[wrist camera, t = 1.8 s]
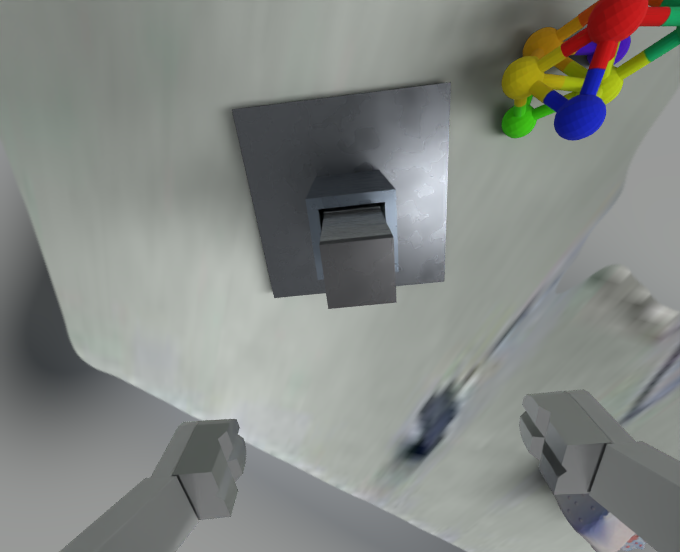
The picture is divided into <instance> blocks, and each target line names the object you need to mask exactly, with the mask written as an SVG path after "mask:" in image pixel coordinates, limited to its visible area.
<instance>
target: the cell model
mask: <svg viewBox="0 0 680 552" xmlns="http://www.w3.org/2000/svg"><path fill="white" fill-rule="evenodd" d="M589 494H590V493H585V494H559V495H555V498H556V500H557V502H558V505H559V507H560V509H561V511H562V512H563V514H564V516H565V517H566V519H567V520H568V522H569V523H570V525H571V526H572V527H573V528H574V529H575V531H576V532H577V533H579V534H580V535H581V536H582V537H583V538H584V539H585V540H586V541H587V542H589V543H590V545H591V546H592V548H593V549H594V550H595V551H596V552H617V551H618V550H619V549H621V550H624V551H630V550H633V549H635V548H639V549H644V548H645V547H644V545H645V544H646V543H647V542H645V541H644V540H643V539H642V538H640V537H639V536H638V535H637V534H636V533H634V532H633V531H632V530H631V529H630V528H628V527H627V526H626V525H625V524H623V523H622V522H621V521H620V520H619V519H617V518H616V517H615V516H614V515H612V514H611V513H610V512H609V511H608V510H606V509H605V508H604V507H603V506H601V505H600V504H599V503H598V502H597V501H595V500H594V499H593V498H592V497H591V496H589Z"/></svg>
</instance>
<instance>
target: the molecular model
mask: <svg viewBox="0 0 680 552" xmlns="http://www.w3.org/2000/svg"><path fill="white" fill-rule="evenodd" d="M648 5H649V6H651V7H648ZM586 24H587V27H586V28H585V29H583V30H582V31H580V32H579V33H577V34H576V35H574V36H573V37H571V38H570V39H568V40H567V41H566V42H562V41H563V40H565V39H566V38H568V37H569V36H571V35H572V34H574V33H575V32H577V31H578V30H580V29H581V28H583V27H584V26H585V25H586ZM639 26H677V28H676V30H674V31H673V32H671V33H670V34H668V35H667V36H665V37H664V38H662V39H661V40H659V41H658V42H656V43H654V44H653V45H651V46H650V47H648V48H647V49H645V50H644V51H642V52H641V53H639V54H638V55H636V56H635V57H633V58H632V59H630V60H629V61H627V62H625V63H624V64H622V65H621V66H619V67H618V68H617V67H614V66H613V65H614V64H616V63H617V62H619V61H620V60H621V59H622V58H623V57H624V56H625V54H626V53H627V51H628V49H629V46H630V42H631V38H630V35H631V34H632V33H633V32H634V31H636V30H637V28H638V27H639ZM679 44H680V0H599V1H597V2H596V3H595V4H593V5H592V6H590V7H589V8H587V9H586V10H585V11H583V12H582V13H580V14H579V15H578V16H577V17H575V18H574V19H573V20H571V21H570V22H568V23H567V24H565V25H564V26H563V27H561V28H560V29H558V30H557V29H555V28H552V27H545V28H542V29H540V30H538V31H536V32H535V33H533V34H532V35H531V36H530V37H529V38H528V40H527V41H526V43H525V45H524V48H523V57H522V58H519V59H517V60H515V61H514V62H512V63H511V64H510V65H509V66H508V67H507V69H506V70H505V72H504V75H503V78H502V89H503V92H504V93H505V95H506V96H508V97H509V98H511V99H514V107H512V108H510V109H509V110H508V111H507V112H506V113H505V115H504V116H503V119H502V130H503V132H504V133H505V134H506V135H507V136H509V137H511V138H520V137H523V136H525V135H527V134H528V133H530V132H531V131H532V129H533V128H534V126H535V124H536V121H537V119H539V118H542V117H544V116H547V115H549V114H552V113H554V112H557V113H556V115H555V120H554V127H555V130H556V132H557V133H558V135H559V136H561V137H562V138H564V139H567V140H579V139H582V138H585V137H588V136H589V135H591V134H593V133H594V132H595V131H597V130H598V129H599V127H600V126H601V125H602V123H603V121H604V119H605V116H606V106H605V104H607V103H609V102H611V101H612V100H613V99H614V98H615V97H616V96H617V95H618V94H619V92H620V90H621V88H622V85H623V79H625V78H626V77H628V76H629V75H631V74H633V73H634V72H636V71H637V70H639V69H641V68H642V67H644V66H645V65H647V64H649V63H650V62H652V61H654V60H655V59H657V58H658V57H660V56H662V55H663V54H665V53H666V52H668V51H670V50H671V49H673V48H674V47H676V46H678V45H679ZM570 55H587V61H588V62H589V64H590V66H589V69H588V70H587V69H586V68H584V67H583V66H581V65H580V64H578V63H577V62H575V61H574V60H572V59H571V58H569V57H568V56H570ZM553 66H555V67H556V68H558V69H559V70H561V71H562V72H563V73H565V74H566V75H568V76H562V75H553V74H545V73H544V72H545V71H546V70H548V69H550V68H551V67H553ZM553 89H555V90H564V91H573V92H571V93H569V94H567V95H564V96H562V95H561V94H559V93H558V92H556V91H555V90H553ZM533 96H534V97H536V98H537V99H538V100H540V101H541V102H542V103H544V105H542V106H540V107H537V108H535V109H534V108H533V107H532V106H530V103H531V100H532V97H533Z"/></svg>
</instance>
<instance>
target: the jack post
mask: <svg viewBox="0 0 680 552" xmlns="http://www.w3.org/2000/svg"><path fill="white" fill-rule="evenodd" d="M319 247H320V254H321V261H322V268H323V275H324V282H325V289H326V296H327V303H328V309H332V308H342V307H353V306H363V305H374V304H384V303H395V302H396V281H395V256H394V237H393V235H392V233H391V231H390V228H389V226H388V224H387V222H386V220H385V218H384V216H383V214H382V212H381V210H380V206H379V205H378V203H370V204H361V205H352V206H342V207H333V208H325V211H324V219H323V225H322V231H321V237H320V243H319Z"/></svg>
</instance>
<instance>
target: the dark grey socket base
mask: <svg viewBox="0 0 680 552" xmlns="http://www.w3.org/2000/svg"><path fill="white" fill-rule="evenodd" d="M450 90H451V82H449V83H441V84H433V85H425V86H417V87H409V88H401V89H393V90H385V91H377V92H369V93H361V94H353V95H345V96H337V97H329V98H321V99H313V100H304V101H296V102H288V103H280V104H272V105H264V106H256V107H248V108H240V109H232V112H233V116H234V121H235V125H236V130H237V134H238V138H239V143H240V147H241V152H242V156H243V161H244V165H245V170H246V174H247V178H248V183H249V187H250V192H251V196H252V201H253V205H254V210H255V214H256V218H257V223H258V227H259V232H260V236H261V241H262V245H263V250H264V254H265V259H266V263H267V267H268V272H269V276H270V281H271V285H272V290H273V294H274V298H279V297H289V296H299V295H310V294H320V293H326V289H325V282H324V275H323V268H322V261H321V254H320V247H319V243H320V237H321V231H322V225H323V219H324V211H325V208H333V207H342V206H352V205H361V204H370V203H378V205H379V206H380V210H381V212H382V214H383V216H384V218H385V220H386V222H387V224H388V226H389V228H390V231H391V233H392V235H393V237H394V256H395V281H396V286H402V285H413V284H423V283H433V282H443V281H444V274H445V243H446V212H447V182H448V151H449V120H450Z"/></svg>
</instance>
